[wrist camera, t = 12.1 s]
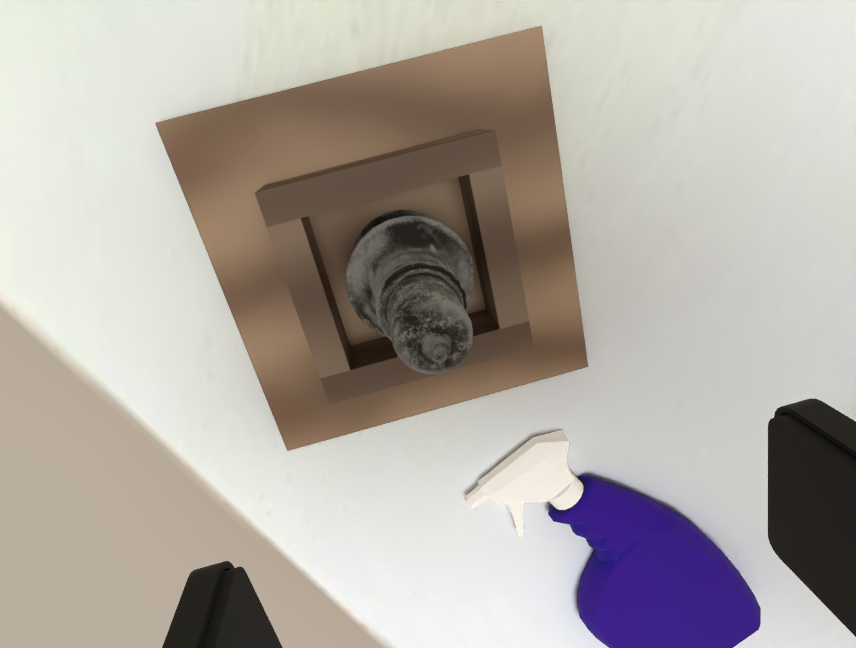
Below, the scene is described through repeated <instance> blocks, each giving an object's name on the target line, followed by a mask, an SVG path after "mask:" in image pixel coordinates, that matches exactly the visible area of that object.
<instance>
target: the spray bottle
mask: <svg viewBox="0 0 856 648" xmlns="http://www.w3.org/2000/svg"><path fill="white" fill-rule="evenodd" d="M569 444H570V441H569V440H568V438H567V437H566V435H565V434H564V432H563V431H562V430H559V431H555V432H551V433H547V434H544V435H540V436H536V437H533V438H531V439H530V440H529V441H528V442H526V443H525V444H524V445H523V446H521V447H520V448H519V449H518V450H516V451H515V452H514V453H513V454H511V455H510V456H509V457H508V458H506V459H505V460H504V461H503V462H501V463H500V464H499V465H498V466H496V467H495V468H494V469H493V470H491V471H490V472H489V473H488V474H486V475H485V476H484V477H483V478H481V479H480V480H479V481H478V484H479V485H478V486H477V487H476V488H475V489H474V490H472V491H471V492H470V493H469V494H467V495H466V496H465V500H466V502H467V504H468V505H469V507H470V508H471V509H472V510H475V509H476V508H478V507H479V506H481V505H482V504H484V503H485V502H487V501H488V500H491V501H492V502H493V503H496V504H506V505H507V507H508V508H509V509H510V511H511V514H512V516H513V519H514V522H515V526H516V529H517V534H518V536H519V538H520V537H523V533H524V519H523V506H524V504H525V502H547V501H549V502H550V503H551V504H550V509H549V513H548V514H549V516H550V517H551V518H552V520H553V521H555V522H560V523H565V524H570V526H571V528H572V530H573V532H574V533H575V534H576V535H578V536H581V537H584V538H586V541H587V542H588V544H589V546H591V547H593V548H595V550H594V552H593V554H592V556H591V558H590V560H589V562H588V564H587V566H586V568H585V570H584V573H583V575H582V578H581V581H580V587H579V593H578V598H577V601H578V608H579V615H580V618H581V620H582V621H583V622H584V624H585V625H586V627H587V628H588V629H589V631H590V632H591V633H592V634H593V635H594V636H595V637H596V638H597V639H598V640H600V641H601V642H602V643H604V644H605V645H606V646H608V647H609V648H733V647H734V646H736V645H737V644H739V643H740V642H741V641H743V640H744V639H746V638H747V637H749V636H750V635H751V634H753V633H754V632H756V631H757V630H758V629H759V627H760V606H759V604H758V602H757V600H756V598H755V595H754V594H753V592H752V591H751V589H750V588H749V586H748V585H747V583H746V582H745V580H744V579H743V577H742V576H741V574H740V573H739V571H738V570H737V569H736V568H735V567H734V565H733V564H732V563H731V562H730V561H729V560H728V558H727V557H726V556H725V555H724V554H723V552H722V551H721V550H720V549H719V548H718V547H717V546H716V545H715V544H714V543H713V542H712V541H711V540H710V539H709V538H708V537H707V536H706V535H705V534H703V533H702V532H701V531H700V530H699V529H698V528H697V527H696V526H695V525H694V524H693V523H691V522H690V521H688V520H687V519H686V518H684V517H683V516H681V515H680V514H678V513H677V512H675V511H673V510H671V509H669V508H667V507H665V506H663V505H661V504H659V503H657V502H655V501H653V500H651V499H649V498H647V497H645V496H643V495H641V494H638V493H636V492H633V491H630V490H627V489H625V488H622V487H619V486H616V485H614V484H611V483H608V482H605V481H602V480H599V479H596V478H593V477H589V476H585V475H583V476H581V477H579V478H576V477H575V476H574V475H573V474H572V473H571V472H570V470H569V468H568V466H567V452H568V448H569Z"/></svg>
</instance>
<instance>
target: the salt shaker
mask: <svg viewBox="0 0 856 648" xmlns="http://www.w3.org/2000/svg"><path fill="white" fill-rule="evenodd" d="M474 278H475V272H474V266H473V261H472V257H471V255H470V253H469V251H468V249H467V247H466V244H465V243H464V242H463V241H462V239H461V238H460V237H459V236H458V235H457V234H456V233H455V231H454V230H452V229H451V228H449V227H447V226H446V225H444V224H443V223H441V222H440V221H437V220H434V219H432V218H431V217H429V216H428V215H426V214H423V213H420V212H416V211H413V210H397V211H392V212H388V213H385V214H383V215H381V216H379V217H377V218H375V219H374V220H372V221H371V222H370V223H369V224H368V225H367V226H366V227H365V228H364V229H363V230H362V232H361V234H360V235H359V237H358V239H357V240H356V243H355V247H354V250H353V252H352V254H351V257H350V260H349V264H348V267H347V271H346V288H347V292H348V296H349V299H350V303H351V305H352V307H353V308H354V310H355V312H356V313H357V315H358V317H359V318H360V319H361V320H362V321H363V322H364V323H365V324H366V325H367V326H368V327H369V328H371V329H372V330H374V331H376V332H378V333H380V334H381V335H383V336H385V337H388V338H389V339H390V340H391V341H392V343H393V347H394V350H395V351H396V353H397V355H398V357H399V358H400V359H401V360H402V361H403V362H404V363H405V364H406V365H407V366H408V367H409V368H411V369H413V370H415V371H417V372H420V373H424V374H440V373H445V372H448V371H450V370H452V369H454V368H455V367H457V366H458V365H459V364H460V363H461V362H463V360H464V359H465V358H466V356H467V355H468V353H469V351H470V348H471V346H472V340H473V328H472V323H471V320H470V318H469V316H468V314H467V306H468V303H469V301H470V298H471V295H472V292H473V289H474Z"/></svg>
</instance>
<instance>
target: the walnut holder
mask: <svg viewBox="0 0 856 648" xmlns="http://www.w3.org/2000/svg"><path fill="white" fill-rule="evenodd" d="M155 124H156V127H157V129H158V132H159V134H160V137H161V139H162V141H163V144H164V146H165V149H166V151H167V154H168V156H169V159H170V161H171V164H172V166H173V169H174V171H175V174H176V176H177V179H178V181H179V184H180V186H181V189H182V191H183V193H184V196H185V198H186V201H187V203H188V206H189V208H190V211H191V213H192V216H193V218H194V221H195V223H196V226H197V228H198V231H199V233H200V236H201V238H202V241H203V243H204V245H205V248H206V250H207V253H208V255H209V258H210V260H211V263H212V265H213V268H214V270H215V273H216V275H217V278H218V280H219V283H220V285H221V288H222V290H223V293H224V295H225V297H226V300H227V302H228V305H229V307H230V310H231V312H232V315H233V317H234V320H235V322H236V325H237V327H238V330H239V332H240V335H241V337H242V340H243V342H244V345H245V347H246V349H247V352H248V354H249V357H250V359H251V362H252V364H253V367H254V369H255V372H256V374H257V377H258V379H259V382H260V384H261V387H262V389H263V392H264V394H265V397H266V399H267V401H268V404H269V406H270V409H271V411H272V414H273V416H274V419H275V421H276V424H277V426H278V429H279V431H280V434H281V436H282V439H283V441H284V444H285V446H286V449H287V451H289V450H293V449H296V448H300V447H303V446H307V445H310V444H314V443H318V442H321V441H325V440H328V439H332V438H335V437H339V436H343V435H346V434H350V433H353V432H357V431H360V430H364V429H368V428H371V427H375V426H378V425H382V424H385V423H389V422H392V421H396V420H400V419H403V418H407V417H410V416H414V415H417V414H421V413H425V412H428V411H432V410H435V409H439V408H442V407H446V406H450V405H453V404H457V403H460V402H464V401H467V400H471V399H475V398H478V397H482V396H485V395H489V394H492V393H496V392H500V391H503V390H507V389H510V388H514V387H517V386H521V385H525V384H528V383H532V382H535V381H539V380H542V379H546V378H549V377H553V376H557V375H560V374H564V373H567V372H571V371H574V370H578V369H582V368H585V367H588V363H587V355H586V348H585V340H584V333H583V326H582V318H581V311H580V304H579V296H578V289H577V282H576V274H575V267H574V259H573V252H572V245H571V237H570V230H569V223H568V215H567V208H566V201H565V193H564V186H563V178H562V171H561V164H560V156H559V149H558V142H557V134H556V127H555V120H554V112H553V105H552V98H551V90H550V83H549V75H548V68H547V61H546V53H545V46H544V39H543V31H542V26H539V27H535V28H531V29H527V30H523V31H519V32H515V33H511V34H507V35H503V36H499V37H495V38H491V39H487V40H483V41H479V42H475V43H471V44H467V45H463V46H459V47H455V48H451V49H447V50H443V51H439V52H435V53H431V54H427V55H424V56H420V57H416V58H412V59H408V60H404V61H400V62H396V63H392V64H388V65H384V66H380V67H376V68H372V69H368V70H364V71H360V72H356V73H352V74H348V75H344V76H340V77H336V78H332V79H328V80H324V81H320V82H316V83H312V84H308V85H304V86H300V87H296V88H292V89H288V90H285V91H281V92H277V93H273V94H269V95H265V96H261V97H257V98H253V99H249V100H245V101H241V102H237V103H233V104H229V105H225V106H221V107H217V108H213V109H209V110H205V111H201V112H197V113H193V114H189V115H185V116H181V117H177V118H173V119H169V120H165V121H161V122H157V123H155ZM397 210H413V211H416V212H420V213H423V214H426V215H428V216H429V217H431V218H432V219H434V220H437V221H440V222H441V223H443V224H444V225H446V226H447V227H449V228H451V229H452V230H454V231H455V233H456V234H457V235H458V236H459V237H460V238H461V239H462V241H463V242H464V243H465V244H466V247H467V249H468V251H469V253H470V255H471V257H472V261H473V266H474V272H475V278H474V289H473V292H472V295H471V298H470V301H469V303H468V306H467V314H468V316H469V318H470V320H471V323H472V328H473V340H472V346H471V348H470V351H469V353H468V355H467V356H466V358H465V359H464V360H463V362H461V363H460V364H459V365H458V366H457V367H455V368H454V369H452V370H450V371H448V372H445V373H440V374H424V373H420V372H417V371H415V370H413V369H411V368H409V367H408V366H407V365H406V364H405V363H404V362H403V361H402V360H401V359H400V358H399V357H398V355H397V353H396V351H395V350H394V347H393V343H392V341H391V340H390V339H389V338H388V337H385V336H383V335H381V334H380V333H378V332H376V331H374V330H372V329H371V328H369V327H368V326H367V325H366V324H365V323H364V322H363V321H362V320H361V319H360V318H359V317H358V315H357V313H356V312H355V310H354V308H353V307H352V305H351V303H350V299H349V296H348V292H347V288H346V271H347V267H348V264H349V260H350V257H351V254H352V252H353V250H354V247H355V243H356V240H357V239H358V237H359V235H360V234H361V232H362V230H363V229H364V228H365V227H366V226H367V225H368V224H369V223H370V222H371V221H372V220H374V219H375V218H377V217H379V216H381V215H383V214H385V213H388V212H392V211H397Z"/></svg>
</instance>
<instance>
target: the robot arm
mask: <svg viewBox="0 0 856 648" xmlns="http://www.w3.org/2000/svg"><path fill="white" fill-rule="evenodd" d="M768 538H769V541H770V544H771V546H772V548H773V550H774V551H775V553H776V554H777V555H778V557H779V558H780V559H781V560H782V561H783V562H784V563H785V564H786V565H787V566H788V567H789V568H790V569H791V570H792V571H793V572H794V573H795V574H796V575H797V577H798V578H799V579H800V580H801V581H802V582H803V583H804V584H805V585H806V586H807V587H808V588H809V589H810V590H811V591H812V592H813V593H814V594H815V595H816V596H817V597H818V598H819V599H820V600H821V601H822V602H823V603H824V604H825V605H826V607H827V608H828V609H829V610H830V611H831V612H832V613H833V614H834V615H835V616H836V617H837V618H838V619H839V620H840V621H841V622H842V623H843V624H844V625H845V626H846V627H847V628H848V629H849V630H850V631H851V632H852V633H853V634H854V635H855V637H856V422H855V421H854V420H852V419H850V418H849V417H847V416H845V415H844V414H842V413H840V412H839V411H837V410H835V409H834V408H832V407H830V406H829V405H827V404H825V403H824V402H822V401H820V400H817V399H807V400H804V401H800V402H796V403H793V404H789V405H786V406H782V407H780V408H778V409H777V410H776V412H775V416H774V418H772V419H771V420H770V421H769V424H768ZM162 648H282V646H281V644H280V642H279V640H278V637H277V635H276V633H275V631H274V629H273V627H272V625H271V623H270V621H269V619H268V617H267V615H266V613H265V611H264V609H263V606H262V604H261V602H260V600H259V598H258V596H257V594H256V592H255V590H254V588H253V586H252V584H251V582H250V580H249V578H248V576H247V574H246V572H245V570H244V569H243V568H242V567H237V568H234V566H233V565H232V564H231V563H230V562H229V561H225V562H222V563H218V564H214V565H210V566H207V567H204V568H200V569H197V570H194V571H193V572H191V574H190V575H189V577H188V580H187V582H186V585H185V588H184V590H183V593H182V596H181V599H180V601H179V604H178V607H177V609H176V612H175V615H174V617H173V620H172V623H171V625H170V628H169V631H168V634H167V636H166V639H165V642H164V644H163V647H162Z"/></svg>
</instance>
